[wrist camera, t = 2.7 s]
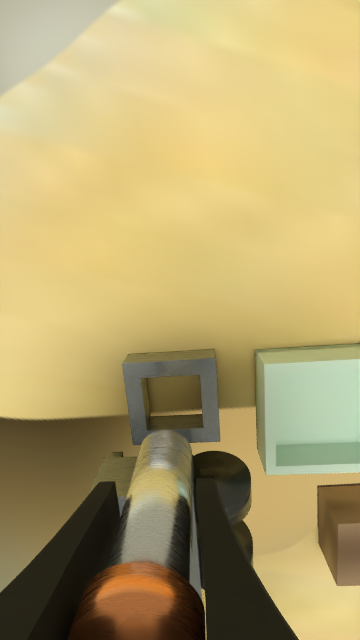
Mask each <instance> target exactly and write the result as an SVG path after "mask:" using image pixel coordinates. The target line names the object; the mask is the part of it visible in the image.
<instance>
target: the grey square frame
mask: <svg viewBox="0 0 360 640" xmlns="http://www.w3.org/2000/svg"><path fill="white" fill-rule="evenodd" d="M122 366H123V373H124V381H125V388H126V396H127V403H128V411H129V418H130V426H131V433H132V440H133V445H141V444H142V442H143V440H144V439H145V438H146V437H147V436H148V435H149V434H151V433H153V432H155V431H158V430H171V431H175V432H177V433H179V434H181V435H182V436H183V437H185V438H186V440H187V441H188V442H189V443H195V442H220V427H219V408H218V390H217V372H216V357H215V352H214V349H209V350H192V351H176V352H159V353H143V354H128V355H127V357H126V359H125V360H124V362H123V363H122ZM186 375H200V385H201V399H202V413H203V414H196V415H174V416H151V417H150V408H149V399H148V390H147V382H146V378H149V377H168V376H186Z"/></svg>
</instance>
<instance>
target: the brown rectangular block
mask: <svg viewBox="0 0 360 640" xmlns="http://www.w3.org/2000/svg"><path fill="white" fill-rule="evenodd" d="M317 511H318V512H317V521H318V522H317V527H318V537H319V545H320V548H321V550H322V552H323V555H324V557H325V559H326V562H327V564H328V566H329V568H330V571H331V573H332V575H333V578H334V580H335V582H336V585H337V586H356V585H360V483H355V484H354V483H353V484H337V485H336V484H335V485H318V486H317Z"/></svg>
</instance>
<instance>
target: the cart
mask: <svg viewBox="0 0 360 640" xmlns="http://www.w3.org/2000/svg"><path fill="white" fill-rule="evenodd" d="M137 458H138V457H123V452H112V453H111V455H110V457H109V458H104V460H103V462H102V464H101V466H100V469H99V471H98V473H97V475H96V478H95V480H94V482H93V484H92V487H91V489H90V491H89V494H90V492H91V491H92V490H93V489H94V487H95V486H96V485H97V484H98V483H99V482H106V481H115V483H116V490H117V497H118V503H119V510H120V516H121V514H122V511H123V507H124V504H125V500H126V497H127V493H128V490H129V486H130V483H131V479H132V476H133V472H134V469H135V465H136V462H137ZM197 478H214V479H215V480H216V483H217V488H218V491H219V495H220V498H221V500H222V503H223V506H224V508H225V511H226V513H227V516H228V518H229V520H230V523H231V525H232V527H233V529H234V531H235V534H236V536H237V538H238V540H239V542H240V544H241V546H242V548H243V550H244V552H245V554H246V556H247V557H248V559H249V561H250V563H251V565H252V567H253V541H252V536H251V533H250V530H249V529H248V527H247V525H246V524H245V523H244V522H243V520H242V519H244V518H245V517H246V515H247V514H248V512H249V510H250V507H251V476H250V472H249V469H248V467H247V466H246V465H245V463H244V462H243V461H242V460H240V459H239V458H238V457H236V456H234V455H232V454H230V453H226V452H222V451H207V452H202V453H199V454H196V455H195V456H193V455H192V468H191V526H190V584H191V585H192V586H193V587H194V588H195V590H196V591H197V592H198V594H199V596H200V598H201V600H202V588H203V589H204V590H205V588H204V579H203V569H202V560H201V549H200V536H199V524H198V511H197V499H196V479H197ZM89 494H88V495H89Z"/></svg>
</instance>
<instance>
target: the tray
mask: <svg viewBox="0 0 360 640" xmlns="http://www.w3.org/2000/svg"><path fill="white" fill-rule="evenodd" d="M255 382H256V426H257V449H258V452H259V455H260V459H261V461H262V464H263V468H264V471H265V474H266V475H287V474H288V475H289V474H320V473H350V472H360V343H358V344H341V345H324V346H308V347H291V348H274V349H258V350H255Z"/></svg>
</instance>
